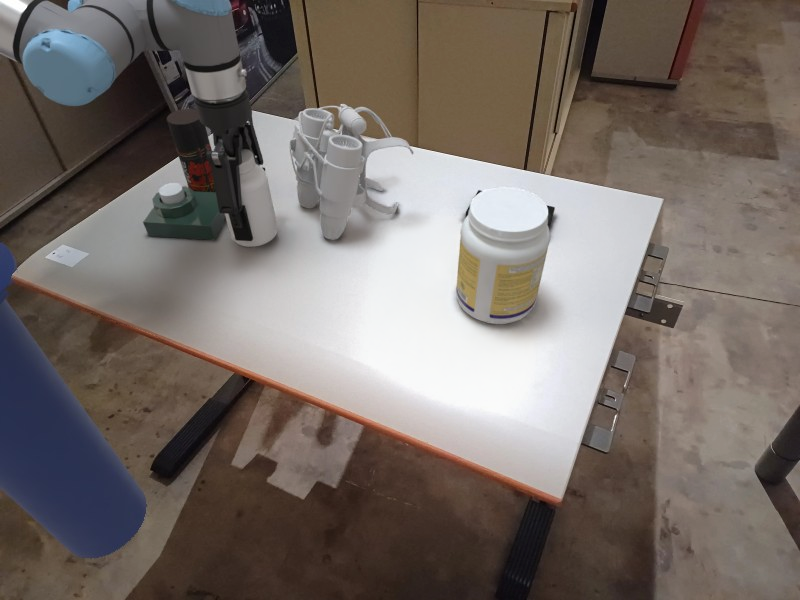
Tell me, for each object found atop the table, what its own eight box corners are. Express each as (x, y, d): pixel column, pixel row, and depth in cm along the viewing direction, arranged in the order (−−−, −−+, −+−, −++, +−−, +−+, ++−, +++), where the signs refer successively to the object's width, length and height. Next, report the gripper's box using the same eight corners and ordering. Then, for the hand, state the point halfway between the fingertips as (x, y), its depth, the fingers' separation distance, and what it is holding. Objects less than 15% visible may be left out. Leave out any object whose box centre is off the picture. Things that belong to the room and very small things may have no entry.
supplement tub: (543, 284, 87) (565, 193, 75) (523, 337, 79) (544, 245, 67) (469, 264, 90) (479, 175, 79) (443, 313, 83) (450, 222, 71)
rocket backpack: (410, 235, 101) (436, 131, 89) (315, 247, 92) (331, 132, 80) (367, 189, 112) (385, 90, 100) (278, 195, 103) (287, 87, 91)
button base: (148, 236, 96) (138, 212, 93) (171, 203, 104) (162, 180, 100) (214, 240, 96) (207, 216, 92) (233, 206, 103) (226, 183, 99)
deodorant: (183, 194, 106) (159, 120, 95) (203, 178, 109) (181, 106, 99) (209, 201, 104) (187, 127, 93) (228, 185, 108) (208, 112, 97)
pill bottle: (224, 246, 93) (201, 167, 82) (240, 218, 98) (221, 141, 88) (269, 250, 92) (252, 171, 81) (283, 221, 97) (269, 144, 87)
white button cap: (158, 205, 95) (154, 195, 94) (167, 192, 98) (164, 182, 97) (180, 206, 95) (177, 196, 93) (189, 193, 98) (186, 183, 96)
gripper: (221, 129, 70) (256, 265, 86) (266, 64, 84) (288, 190, 100) (164, 126, 70) (209, 262, 86) (219, 62, 85) (248, 188, 101)
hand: (252, 223), depth 93 cm, fingers closed on pill bottle, 8 cm apart
